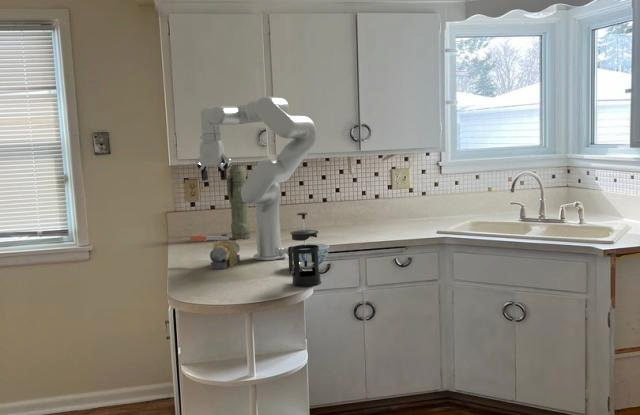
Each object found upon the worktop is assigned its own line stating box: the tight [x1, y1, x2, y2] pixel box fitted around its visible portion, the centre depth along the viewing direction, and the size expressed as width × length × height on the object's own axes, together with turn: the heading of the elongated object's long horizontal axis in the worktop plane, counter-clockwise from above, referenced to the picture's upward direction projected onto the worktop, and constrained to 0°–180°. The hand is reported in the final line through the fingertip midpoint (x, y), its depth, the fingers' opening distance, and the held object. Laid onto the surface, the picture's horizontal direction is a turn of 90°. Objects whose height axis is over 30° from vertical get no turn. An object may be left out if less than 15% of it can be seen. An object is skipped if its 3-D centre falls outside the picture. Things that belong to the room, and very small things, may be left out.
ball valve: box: [209, 239, 241, 270], centre depth 244 cm, size 7×16×9 cm, turn 164°
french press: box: [287, 212, 322, 288], centre depth 206 cm, size 12×9×23 cm
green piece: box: [226, 164, 251, 240], centre depth 307 cm, size 9×12×35 cm
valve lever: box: [189, 233, 230, 242], centre depth 245 cm, size 15×4×2 cm, turn 74°
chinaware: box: [288, 242, 330, 271], centre depth 232 cm, size 15×15×8 cm
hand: (214, 180), depth 265 cm, fingers open, 9 cm apart
